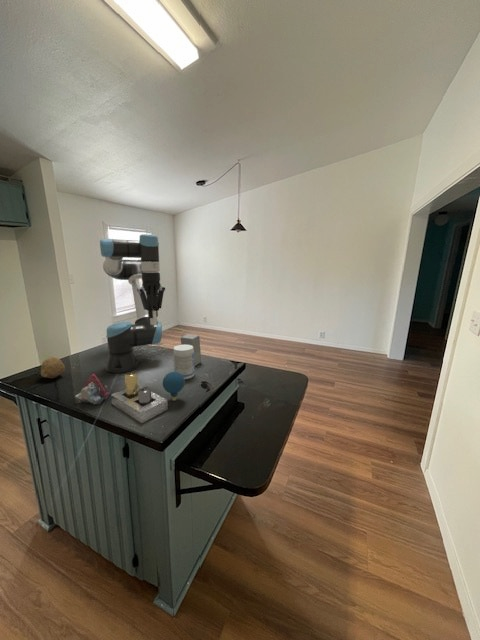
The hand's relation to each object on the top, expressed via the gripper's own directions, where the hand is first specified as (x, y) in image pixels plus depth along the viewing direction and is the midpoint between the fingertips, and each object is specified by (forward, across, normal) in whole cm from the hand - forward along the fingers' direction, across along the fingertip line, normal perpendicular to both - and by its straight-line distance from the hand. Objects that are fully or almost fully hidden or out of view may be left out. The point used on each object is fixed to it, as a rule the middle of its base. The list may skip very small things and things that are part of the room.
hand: (153, 324), depth 115 cm
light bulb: (+26, -8, -23) cm, 36 cm away
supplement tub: (+26, +10, -9) cm, 29 cm away
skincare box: (+27, +22, 0) cm, 35 cm away
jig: (+26, -19, -16) cm, 36 cm away
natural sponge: (+27, -30, +36) cm, 54 cm away
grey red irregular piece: (+26, -28, +1) cm, 38 cm away
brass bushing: (+26, -19, -12) cm, 35 cm away
